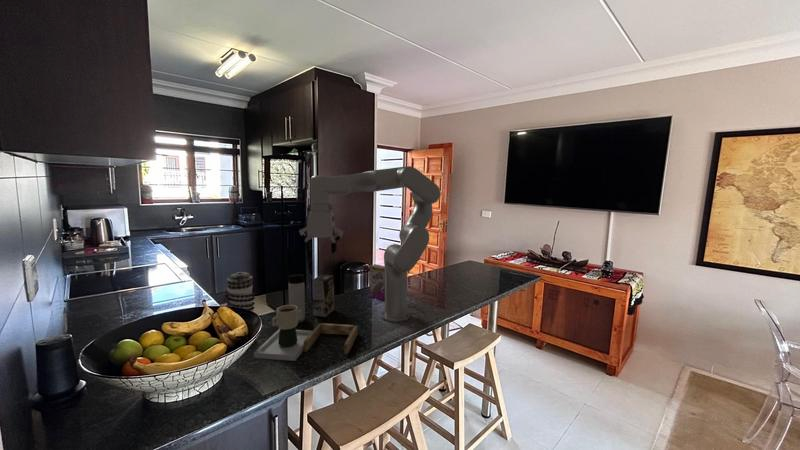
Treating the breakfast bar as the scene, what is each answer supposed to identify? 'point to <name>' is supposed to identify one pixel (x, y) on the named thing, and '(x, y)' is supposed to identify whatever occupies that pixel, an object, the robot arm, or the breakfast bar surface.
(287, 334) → the character mug
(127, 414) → the breakfast bar surface
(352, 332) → the bay
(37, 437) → the breakfast bar surface
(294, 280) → the travel mug
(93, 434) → the breakfast bar surface
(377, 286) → the candy bar box
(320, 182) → the robot arm
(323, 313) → the coffee box
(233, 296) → the decorative candle
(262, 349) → the tray
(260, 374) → the breakfast bar surface
